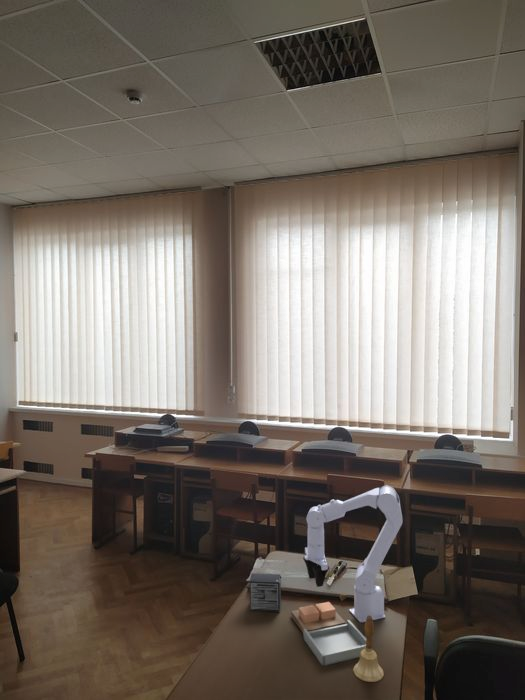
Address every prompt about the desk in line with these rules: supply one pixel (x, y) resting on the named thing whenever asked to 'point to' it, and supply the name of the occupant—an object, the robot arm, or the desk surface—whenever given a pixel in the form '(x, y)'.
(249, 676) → the desk surface
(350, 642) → the tray
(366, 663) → the hand bell
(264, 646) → the desk surface
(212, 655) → the desk surface
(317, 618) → the tile far
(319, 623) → the plate
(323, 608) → the tile near
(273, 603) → the small box
